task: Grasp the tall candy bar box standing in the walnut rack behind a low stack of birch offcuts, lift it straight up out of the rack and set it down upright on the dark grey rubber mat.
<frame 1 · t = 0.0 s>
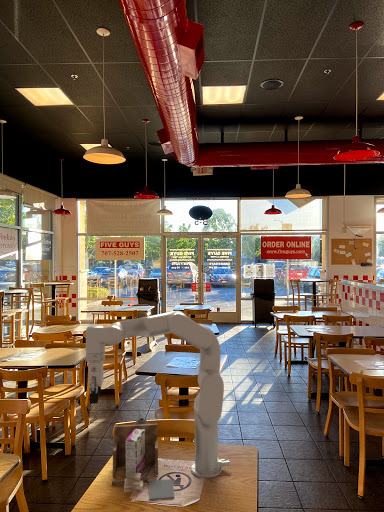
hand: (95, 399, 158), 31 cm above the table, fingers open, 9 cm apart
candy bar box: (135, 475, 159), resting in rack
rack: (135, 475, 159), on the table
mat: (161, 490, 148), on the table
offcut stack: (133, 488, 149), on the table
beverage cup: (141, 454, 177), on the table
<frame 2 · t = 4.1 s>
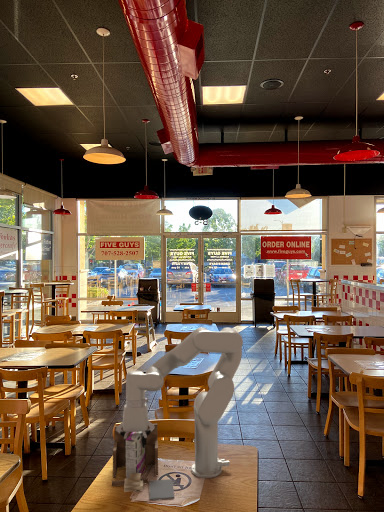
hand: (135, 446, 159), 11 cm above the table, fingers closed on candy bar box, 6 cm apart
candy bar box: (135, 475, 159), resting in rack, touching gripper
everything else where it was.
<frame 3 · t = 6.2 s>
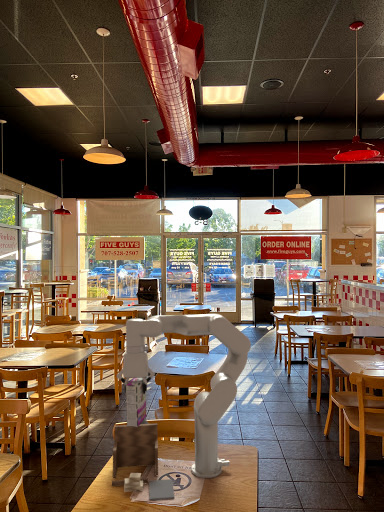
hand: (136, 393, 160), 33 cm above the table, fingers closed on candy bar box, 6 cm apart
candy bar box: (136, 422, 159), point 21 cm above the table, touching gripper
everything else where it was.
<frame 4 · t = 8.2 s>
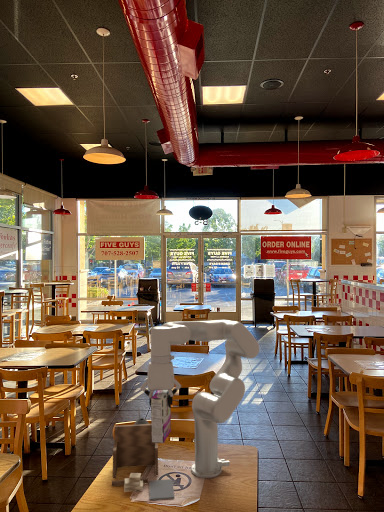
hand: (160, 406, 149), 31 cm above the table, fingers closed on candy bar box, 6 cm apart
candy bar box: (161, 437, 148), point 20 cm above the table, touching gripper
everything else where it was.
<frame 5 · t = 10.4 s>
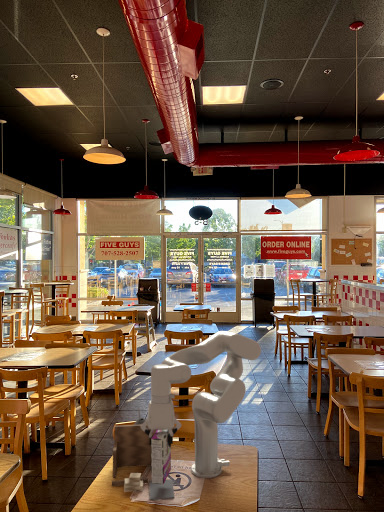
hand: (161, 445, 148), 17 cm above the table, fingers closed on candy bar box, 6 cm apart
candy bar box: (161, 476, 148), point 5 cm above the table, touching gripper
everything else where it was.
when the fingers open (13 cm above the table, at t = 12.2 s): candy bar box stays where it is, resting on mat.
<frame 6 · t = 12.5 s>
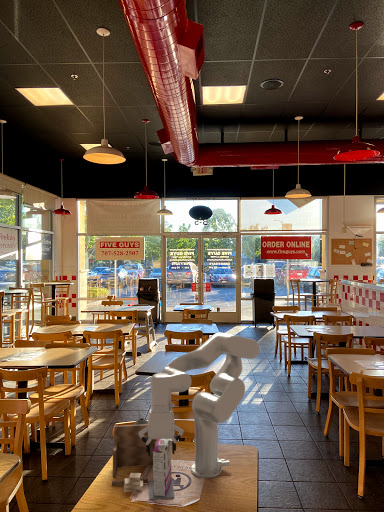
hand: (161, 453, 148), 14 cm above the table, fingers open, 8 cm apart
candy bar box: (162, 488, 148), resting on mat
everything else where it was.
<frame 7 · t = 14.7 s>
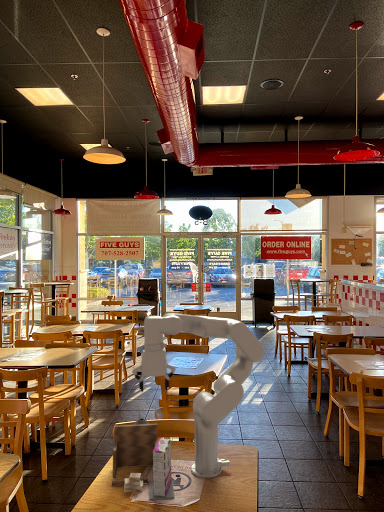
hand: (154, 390, 157), 35 cm above the table, fingers open, 9 cm apart
nothing on the table moved.
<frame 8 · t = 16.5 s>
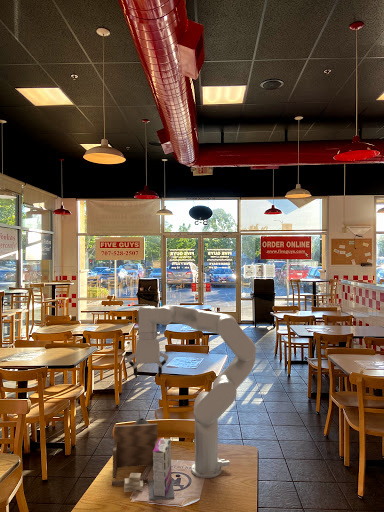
hand: (147, 376, 164), 38 cm above the table, fingers open, 9 cm apart
nothing on the table moved.
at the end: candy bar box inside the target area on the mat (0.4 cm from its centre), point 0.4 cm above the mat's base; candy bar box tilted 0°; the gripper is holding nothing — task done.
